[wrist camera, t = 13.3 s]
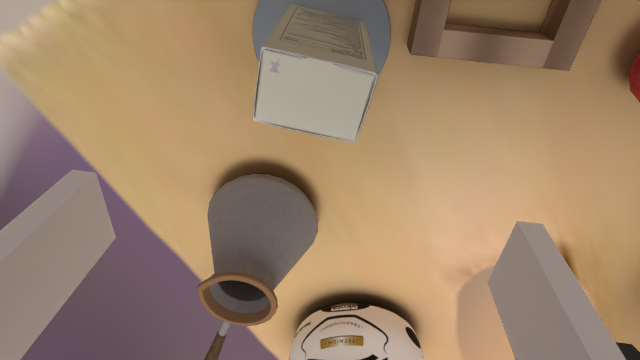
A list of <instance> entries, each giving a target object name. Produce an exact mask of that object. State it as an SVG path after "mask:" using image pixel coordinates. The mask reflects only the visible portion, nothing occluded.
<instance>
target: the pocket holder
mask: <svg viewBox="0 0 640 360" xmlns="http://www.w3.org/2000/svg"><path fill="white" fill-rule="evenodd" d="M600 2H601V0H552V3H551V6H550V8H549V11H548V13H547V16H546V18H545V21H544V23H543V26H542V29H541V31H540V33H538V32H528V31H518V30H508V29H498V28H488V27H478V26H468V25H458V24H449V23H446V19H447V15H448V11H449V7H450V3H451V0H416V4H415V8H414V13H413V18H412V23H411V28H410V33H409V38H408V43H407V47H408V50H409V52H410V54H411V55H420V56H429V57H439V58H449V59H459V60H468V61H478V62H488V63H498V64H508V65H517V66H527V67H537V68H547V69H556V70H566V71H569V70H570V68H571V65H572V63H573V61H574V59H575V57H576V54H577V52H578V50H579V48H580V46H581V44H582V41H583V39H584V37H585V35H586V33H587V30H588V28H589V26H590V24H591V22H592V20H593V17H594V15H595V13H596V11H597V9H598V7H599V4H600Z"/></svg>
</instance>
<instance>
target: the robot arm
mask: <svg viewBox="0 0 640 360" xmlns="http://www.w3.org/2000/svg"><path fill="white" fill-rule="evenodd" d="M114 239H115V234H114V231H113V227H112V224H111V221H110V218H109V214H108V211H107V208H106V204H105V201H104V198H103V195H102V191H101V188H100V185H99V182H98V179H97V175H96V173H94V172H85V171H76V170H71V171H70V172H69V173H68V174H67V175H65V176H64V177H63V178H62V179H61V180H60V181H58V182H57V183H56V184H55V185H54V186H52V187H51V188H50V189H49V190H48V191H47V192H45V193H44V194H43V195H42V196H41V197H40V198H39V199H37V200H36V201H35V202H34V203H33V204H31V205H30V206H29V207H28V208H26V209H25V210H24V211H23V212H22V213H21V214H19V215H18V216H17V217H16V218H15V219H14V220H13V221H11V222H10V223H9V224H8V225H6V226H5V227H4V228H3V229H2V230H1V231H0V360H20V359H21V358H22V356H23V355H24V354H25V353H26V351H27V350H28V349H29V348H30V346H31V345H32V344H33V342H34V341H35V340H36V339H37V337H38V336H39V335H40V333H41V332H42V331H43V330H44V328H45V327H46V326H47V325H48V323H49V322H50V321H51V319H52V318H53V317H54V316H55V314H56V313H57V312H58V311H59V309H60V308H61V307H62V305H63V304H64V303H65V302H66V300H67V299H68V298H69V296H70V295H71V294H72V293H73V291H74V290H75V289H76V288H77V286H78V285H79V284H80V282H81V281H82V279H84V277H85V276H86V275H87V273H88V272H89V271H90V270H91V268H92V267H93V266H94V264H95V263H96V262H97V261H98V259H99V258H100V256H102V254H103V253H104V252H105V251H106V249H107V248H108V247H109V245H110V244H111V243H112V242H113V240H114ZM488 285H489V287H490V290H491V293H492V296H493V299H494V301H495V304H496V307H497V310H498V313H499V315H500V318H501V320H502V324H503V326H504V329H505V332H506V334H507V338H508V340H509V343H510V346H511V349H512V351H513V354H514V357H515V360H640V352H639V351H638V350H637V349H636V348H635V347H634V346H633V345H632V344H625V343H617V342H615V341H614V339H613V338H612V336H611V334H610V333H609V331H608V329H607V328H606V326H605V325H604V323H603V321H602V320H601V318H600V316H599V315H598V313H597V312H596V310H595V308H594V307H593V305H592V303H591V302H590V300H589V299H588V297H587V295H586V294H585V292H584V290H583V289H582V287H581V286H580V284H579V282H578V281H577V279H576V278H575V276H574V274H573V273H572V271H571V269H570V268H569V266H568V265H567V263H566V261H565V260H564V258H563V256H562V255H561V253H560V252H559V250H558V248H557V247H556V245H555V243H554V242H553V240H552V239H551V237H550V235H549V234H548V232H547V230H546V229H545V227H544V226H543V224H538V223H529V222H520V221H517V222H516V225H515V227H514V229H513V231H512V233H511V235H510V237H509V239H508V241H507V243H506V245H505V247H504V249H503V251H502V253H501V255H500V257H499V259H498V261H497V263H496V266H495V268H494V270H493V272H492V274H491V276H490V278H489V280H488Z"/></svg>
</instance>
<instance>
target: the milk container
mask: <svg viewBox="0 0 640 360" xmlns="http://www.w3.org/2000/svg"><path fill="white" fill-rule="evenodd" d="M289 360H424V357H423V352H422V349H421V346H420V343H419V340H418V337H417V335H416V333H415V331H414V330H413V328H412V327H411V326H410V325H409V323H408V322H407V321H406V320H405V319H404V318H402V317H401V316H399V315H398V314H396V313H395V312H393V311H391V310H388V309H385V308H383V307H379V306H376V305H373V304H365V303H354V302H349V303H342V304H335V305H330V306H327V307H324V308H322V309H319V310H317V311H315V312H313V313H312V314H310V315H309V316H308V317H307V318H306V319H305V320H304V321H303V322H302V323H301V325H300V326H299V327H298V329H297V331H296V334H295V337H294V339H293V342H292V346H291V350H290V356H289Z"/></svg>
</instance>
